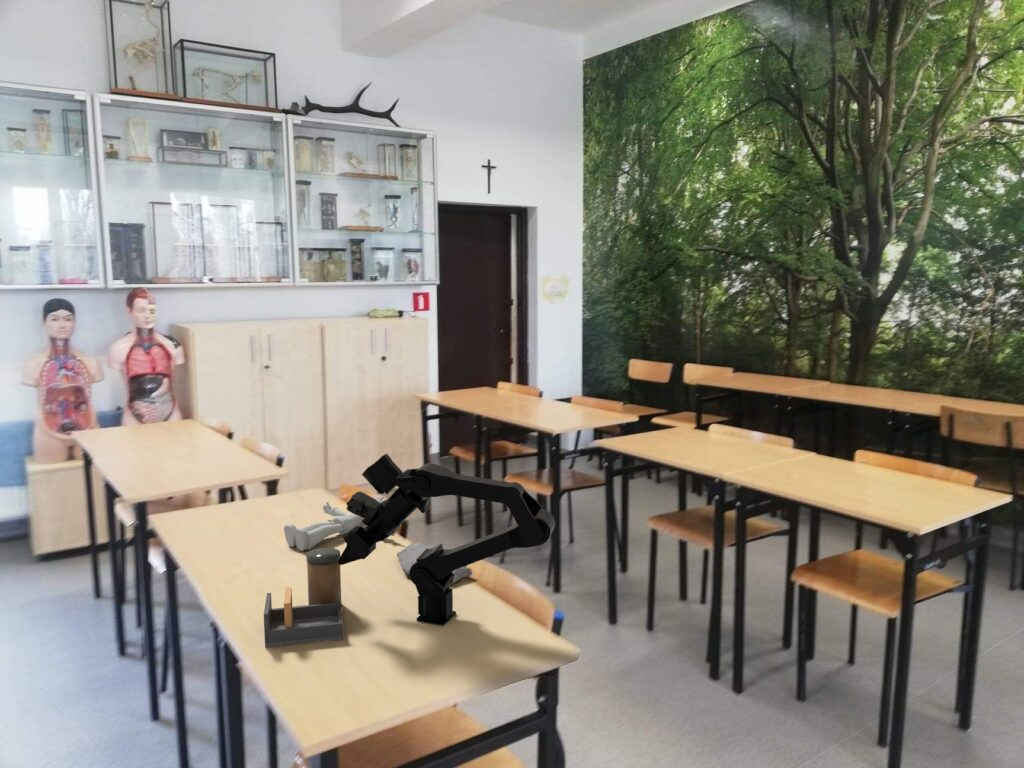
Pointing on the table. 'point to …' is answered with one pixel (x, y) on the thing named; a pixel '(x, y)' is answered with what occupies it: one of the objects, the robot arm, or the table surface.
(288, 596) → the block
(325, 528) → the toy
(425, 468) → the robot arm
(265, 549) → the table surface
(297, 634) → the tray
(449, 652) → the table surface
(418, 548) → the stone
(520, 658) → the table surface
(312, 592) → the jar
